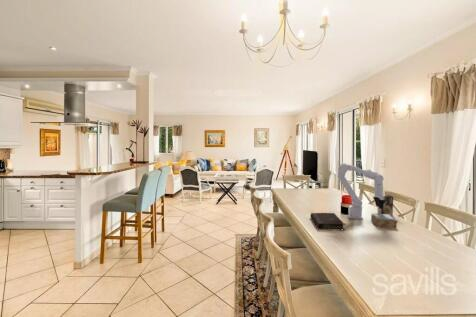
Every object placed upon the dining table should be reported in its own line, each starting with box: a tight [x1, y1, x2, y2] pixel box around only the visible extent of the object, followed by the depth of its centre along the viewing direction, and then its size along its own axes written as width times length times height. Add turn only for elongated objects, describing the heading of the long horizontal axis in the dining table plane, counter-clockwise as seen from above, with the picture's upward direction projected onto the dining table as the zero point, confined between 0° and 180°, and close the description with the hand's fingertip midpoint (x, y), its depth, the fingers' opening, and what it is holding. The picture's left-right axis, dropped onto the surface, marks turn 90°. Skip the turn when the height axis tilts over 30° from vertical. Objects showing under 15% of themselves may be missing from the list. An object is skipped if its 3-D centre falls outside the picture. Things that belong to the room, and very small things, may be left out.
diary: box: [310, 212, 346, 231], centre depth 174 cm, size 19×25×5 cm
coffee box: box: [377, 194, 394, 217], centre depth 196 cm, size 9×6×16 cm
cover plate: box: [372, 213, 395, 221], centre depth 173 cm, size 10×11×2 cm
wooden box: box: [370, 213, 398, 229], centre depth 172 cm, size 12×13×5 cm
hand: (379, 207), depth 183 cm, fingers open, 7 cm apart
